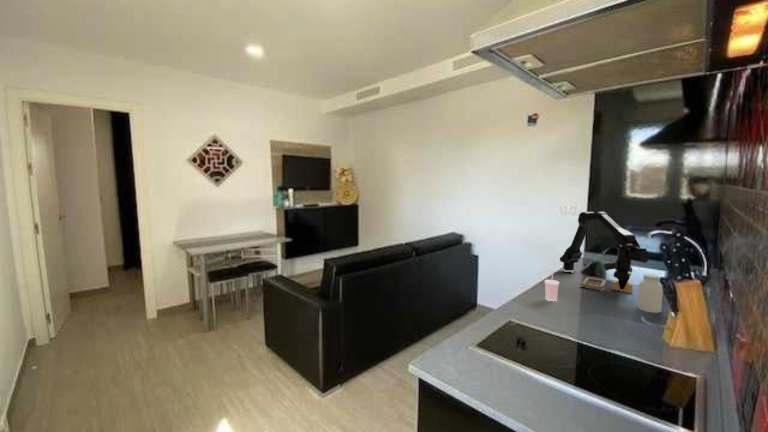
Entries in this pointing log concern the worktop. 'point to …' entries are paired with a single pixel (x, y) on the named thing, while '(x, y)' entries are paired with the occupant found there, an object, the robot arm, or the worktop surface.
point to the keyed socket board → (594, 285)
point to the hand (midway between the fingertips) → (622, 288)
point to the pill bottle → (650, 294)
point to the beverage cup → (551, 289)
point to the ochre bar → (627, 287)
